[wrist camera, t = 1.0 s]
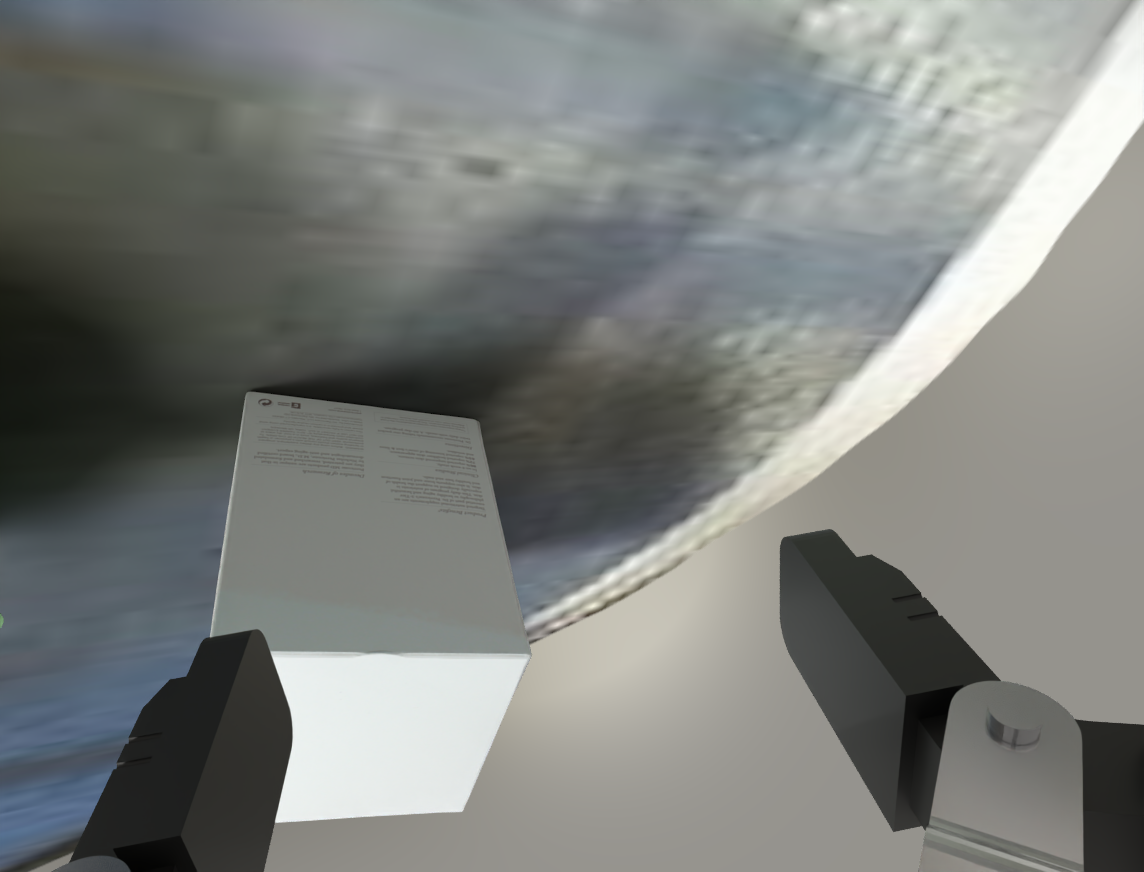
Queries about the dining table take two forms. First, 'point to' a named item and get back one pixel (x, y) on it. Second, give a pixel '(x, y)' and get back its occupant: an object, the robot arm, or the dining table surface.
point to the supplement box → (373, 600)
